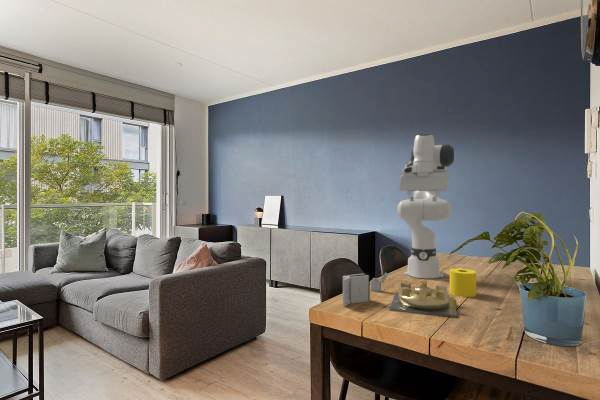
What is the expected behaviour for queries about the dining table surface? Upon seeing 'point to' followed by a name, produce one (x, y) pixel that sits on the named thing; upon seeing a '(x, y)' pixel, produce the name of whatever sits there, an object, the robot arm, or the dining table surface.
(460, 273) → the yellow toilet paper roll
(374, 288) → the grey angled block
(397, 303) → the base plate
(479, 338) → the dining table surface
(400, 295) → the gold radial fin assembly
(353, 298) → the grey and black block
